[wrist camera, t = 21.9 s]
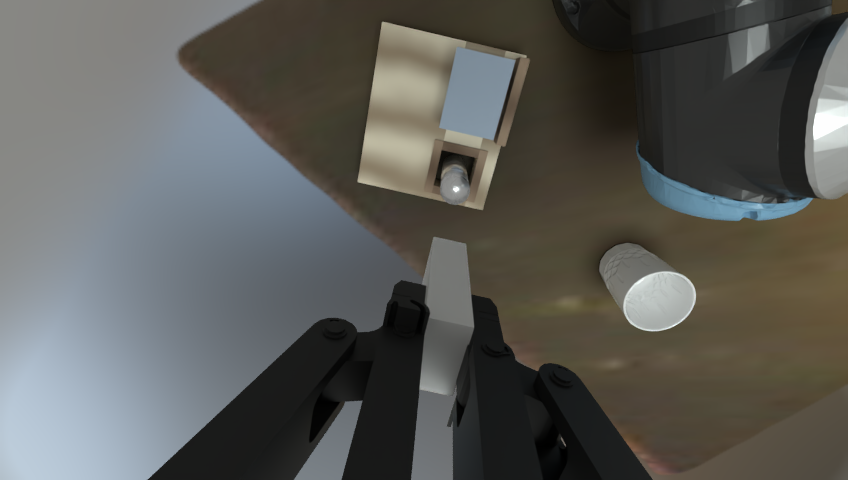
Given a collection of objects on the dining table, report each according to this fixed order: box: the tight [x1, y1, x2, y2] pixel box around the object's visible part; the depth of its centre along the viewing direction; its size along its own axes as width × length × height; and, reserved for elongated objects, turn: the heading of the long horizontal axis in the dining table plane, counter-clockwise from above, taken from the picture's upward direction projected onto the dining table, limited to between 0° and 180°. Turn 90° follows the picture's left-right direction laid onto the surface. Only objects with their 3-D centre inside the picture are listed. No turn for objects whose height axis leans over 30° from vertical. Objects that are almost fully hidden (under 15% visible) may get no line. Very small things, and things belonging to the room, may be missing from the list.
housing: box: [439, 47, 515, 140], centre depth 43 cm, size 8×6×4 cm
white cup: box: [599, 243, 696, 331], centre depth 50 cm, size 8×8×10 cm
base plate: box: [358, 22, 530, 210], centre depth 46 cm, size 18×16×6 cm
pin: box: [440, 155, 470, 205], centre depth 45 cm, size 3×3×12 cm
